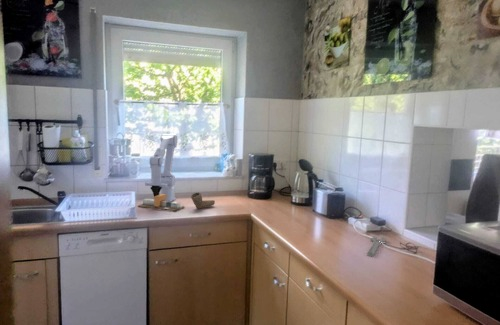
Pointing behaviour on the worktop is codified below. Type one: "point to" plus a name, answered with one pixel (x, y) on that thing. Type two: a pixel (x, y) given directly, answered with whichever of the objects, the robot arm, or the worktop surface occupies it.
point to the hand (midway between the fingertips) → (156, 198)
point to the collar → (159, 199)
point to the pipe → (199, 203)
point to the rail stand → (162, 205)
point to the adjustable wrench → (375, 246)
